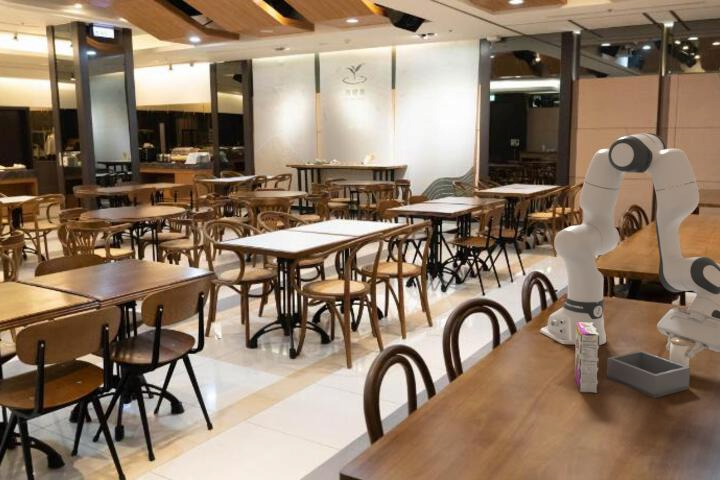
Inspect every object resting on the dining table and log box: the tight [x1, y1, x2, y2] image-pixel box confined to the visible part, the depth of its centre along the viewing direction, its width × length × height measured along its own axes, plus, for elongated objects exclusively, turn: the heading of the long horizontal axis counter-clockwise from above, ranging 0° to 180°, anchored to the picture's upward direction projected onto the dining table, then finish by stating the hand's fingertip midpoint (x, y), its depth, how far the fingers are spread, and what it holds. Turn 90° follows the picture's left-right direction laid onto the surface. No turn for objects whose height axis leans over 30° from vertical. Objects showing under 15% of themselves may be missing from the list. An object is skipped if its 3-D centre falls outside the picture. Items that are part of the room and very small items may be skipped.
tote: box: [606, 350, 691, 399], centre depth 178 cm, size 16×13×6 cm
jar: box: [668, 338, 691, 367], centre depth 185 cm, size 5×5×8 cm
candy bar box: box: [574, 322, 600, 394], centre depth 177 cm, size 11×5×16 cm, turn 168°
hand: (678, 352), depth 185 cm, fingers closed on jar, 5 cm apart
